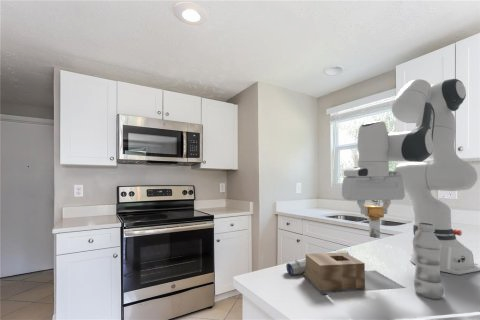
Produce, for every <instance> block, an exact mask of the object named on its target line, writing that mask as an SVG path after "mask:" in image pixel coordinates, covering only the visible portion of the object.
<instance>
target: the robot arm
mask: <svg viewBox="0 0 480 320" xmlns="http://www.w3.org/2000/svg"><path fill="white" fill-rule="evenodd" d="M466 92H467V91H466V86H465V85H464V83H463V81H461V80H459V79H458V78H451V79H446V80H444V81H441V82H436V83H434V84H430V82H428V80H425V79H419V78H418V79H413V80H411V81H409V82H408V83H406V84H405V85H404V86H403V87H402V88H401V89H400V91H399V92H398V93H397V95H396V97H395V98H394V100H393V102H392V104H391V112H392V114H393V116H394V117H395V119H397V121H400V122H403V123H405V124H415V128H413V129H410V130H407V131H400V132H399V131H398V132H389V131H388V129H387V125H386V122H385V121H381V120H378V121H372V122H367V123H362V124H361V125H360V126H359V128H358V133H357V151H358V160H357V165H355V166H353V167H350V168H347V169H344V170H343V176H344V178H343V180H342V185H341V196H342V198H343V200H345V201H356V203H357V205H358V207H359V209H360V214H361V215H363V216H365V215H367V214H368V209H366V208H365V206H366V205H365V204H366V201H381V202H382V205H381V207H384V215H388V209H389V208H390V205H391V204H392V203H391V201H392V200H394V201H396V200H397V201H398V200H404V198H405V197H406V194H407V196H408V197H409V199H410V200H411V203H412V208H413V217H414V224H413V225H412V226H413V228H412V230H413V237H414V236H415V235H416V234H417V233H418V232H419V230H418V223H430V224H434V229H435V232H434V234H435V236H436V237H437V238H438V239H439V241H440V243H441V253H440V264H439V266H440V269H439V270H440V272H443V273H444V272H445V273H449V274H453V275H464V274H469V273H474V272H479V271H480V264H479V263H476V262H475V260H474V254H473V252H472V250H471V249H469V248H468V247H467V246H465V245H464V244H463V243H462V242H460V241H459V240H458V239H457V236H462V233H463V231H462V230H461V229H456V228H455V229H453V228H452V209H451V208H450V206H449V205H448V204H447V203H446V202H443V201H442V200H439V199H437V198H436V197H434V196H433V194H432V191H440V192H443V191H444V192H459V191H460V192H461V191H468V190H471V189H472V188H473V187H474V186H475V185H476V184H477V180H478V173H477V170H476V169H475V168H474V166H473V165H472V164H471V163H469V162H466V161H465V160H463V159H462V158H461V157H459V156H458V155H457V153H456V150H455V143H456V141H455V140H456V132H457V131H456V130H457V125H456V117H455V113H453V112H455V111H458V110H459V108H460V105H462V104H463V102H464V100H465V99H466V96H467V93H466ZM428 158H429V159H432V160H430V161H425V160H427V159H428ZM390 162H403V163H400V164H397V165H396V166H395V168H394V169H393V171H392V170H390V167H389V164H390ZM456 235H457V236H456ZM411 252H412V253H410V254H411V255H410V260H409V261H410V262H411V263H412V264H414V265H416V263H415V261H416V260H415V253H414V248H413V247H412V251H411Z"/></svg>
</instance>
